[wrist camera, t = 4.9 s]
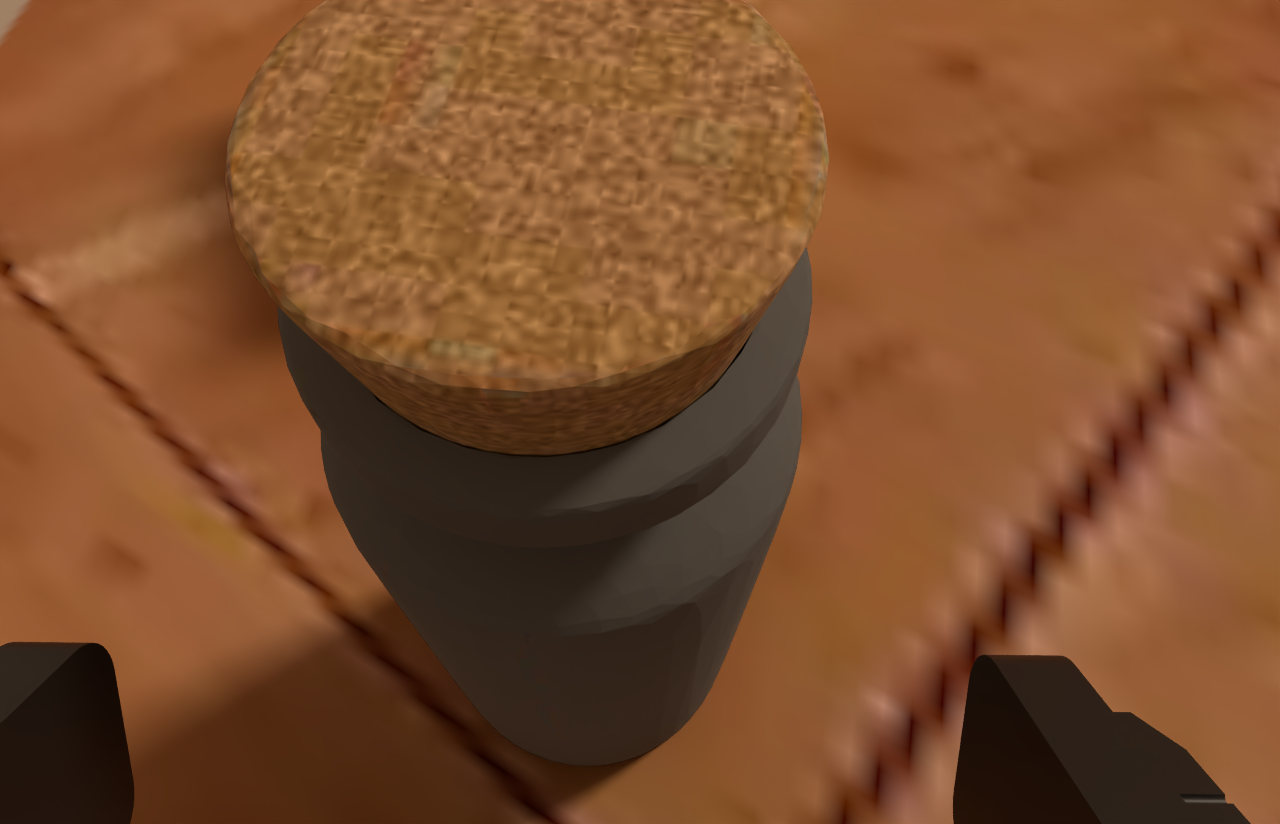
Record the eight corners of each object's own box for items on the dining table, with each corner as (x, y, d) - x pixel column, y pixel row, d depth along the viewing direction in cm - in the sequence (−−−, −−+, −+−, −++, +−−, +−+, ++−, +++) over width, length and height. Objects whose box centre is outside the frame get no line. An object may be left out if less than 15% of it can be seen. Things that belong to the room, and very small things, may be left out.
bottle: (646, 824, 19) (699, 626, 6) (402, 682, 20) (-34, 242, 7) (768, 574, 21) (1008, 21, 8) (543, 460, 22) (426, -184, 9)
